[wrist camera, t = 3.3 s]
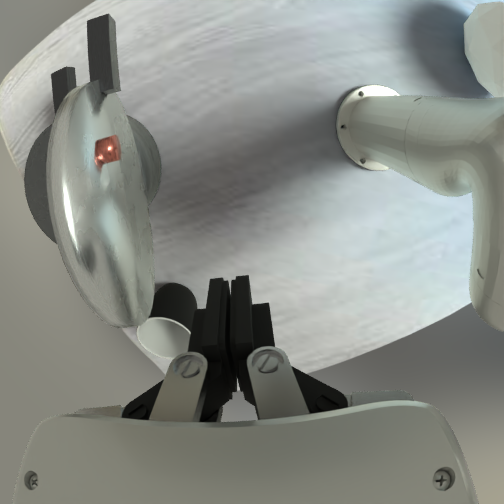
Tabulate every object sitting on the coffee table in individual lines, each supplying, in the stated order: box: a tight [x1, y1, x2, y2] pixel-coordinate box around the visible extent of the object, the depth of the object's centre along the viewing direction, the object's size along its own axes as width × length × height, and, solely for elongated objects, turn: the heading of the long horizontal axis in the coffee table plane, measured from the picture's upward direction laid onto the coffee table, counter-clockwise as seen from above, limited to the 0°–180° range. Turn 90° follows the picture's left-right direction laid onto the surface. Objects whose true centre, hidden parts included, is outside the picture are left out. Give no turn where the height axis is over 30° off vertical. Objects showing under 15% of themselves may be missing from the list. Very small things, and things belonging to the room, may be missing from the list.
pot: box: [24, 67, 161, 244], centre depth 30 cm, size 17×24×10 cm
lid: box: [46, 14, 155, 328], centre depth 18 cm, size 19×23×2 cm
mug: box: [136, 284, 197, 359], centre depth 44 cm, size 12×9×10 cm
